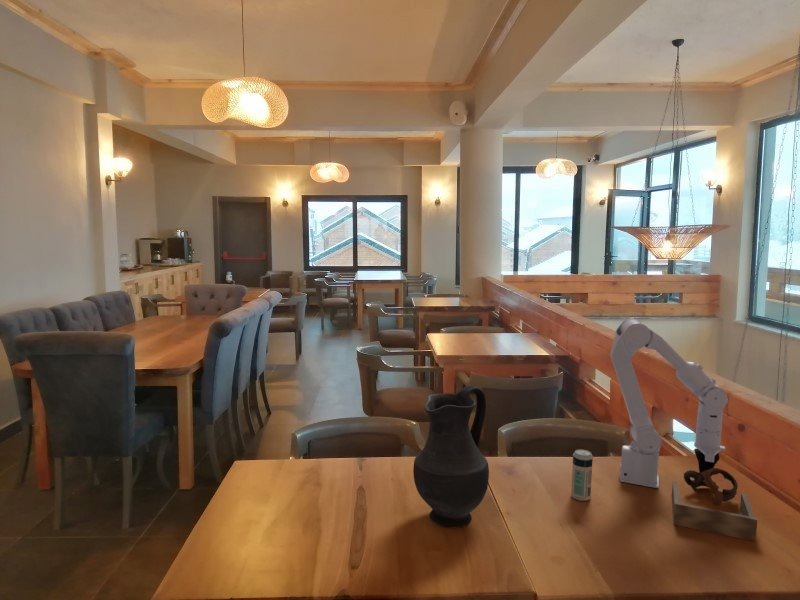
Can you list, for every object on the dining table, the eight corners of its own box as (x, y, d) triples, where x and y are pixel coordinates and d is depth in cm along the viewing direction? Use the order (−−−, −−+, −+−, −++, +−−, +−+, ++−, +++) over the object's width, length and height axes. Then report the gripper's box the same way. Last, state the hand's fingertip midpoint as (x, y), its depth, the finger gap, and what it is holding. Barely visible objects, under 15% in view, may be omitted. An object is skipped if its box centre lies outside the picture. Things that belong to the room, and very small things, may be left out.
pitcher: (398, 517, 127) (399, 392, 124) (452, 488, 142) (455, 376, 139) (457, 546, 115) (461, 410, 112) (510, 511, 131) (514, 389, 127)
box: (673, 524, 125) (675, 503, 125) (671, 495, 139) (673, 477, 139) (755, 541, 119) (757, 519, 118) (744, 509, 133) (746, 490, 132)
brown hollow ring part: (723, 489, 144) (738, 471, 139) (728, 520, 137) (744, 501, 132) (676, 473, 147) (689, 454, 142) (678, 502, 139) (692, 483, 134)
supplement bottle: (588, 493, 140) (590, 449, 138) (592, 502, 135) (595, 456, 134) (569, 492, 140) (571, 448, 139) (573, 501, 136) (575, 455, 134)
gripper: (730, 440, 135) (725, 492, 136) (723, 422, 148) (718, 470, 149) (697, 435, 138) (693, 486, 139) (693, 418, 151) (690, 465, 152)
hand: (704, 477), depth 145 cm, fingers closed
